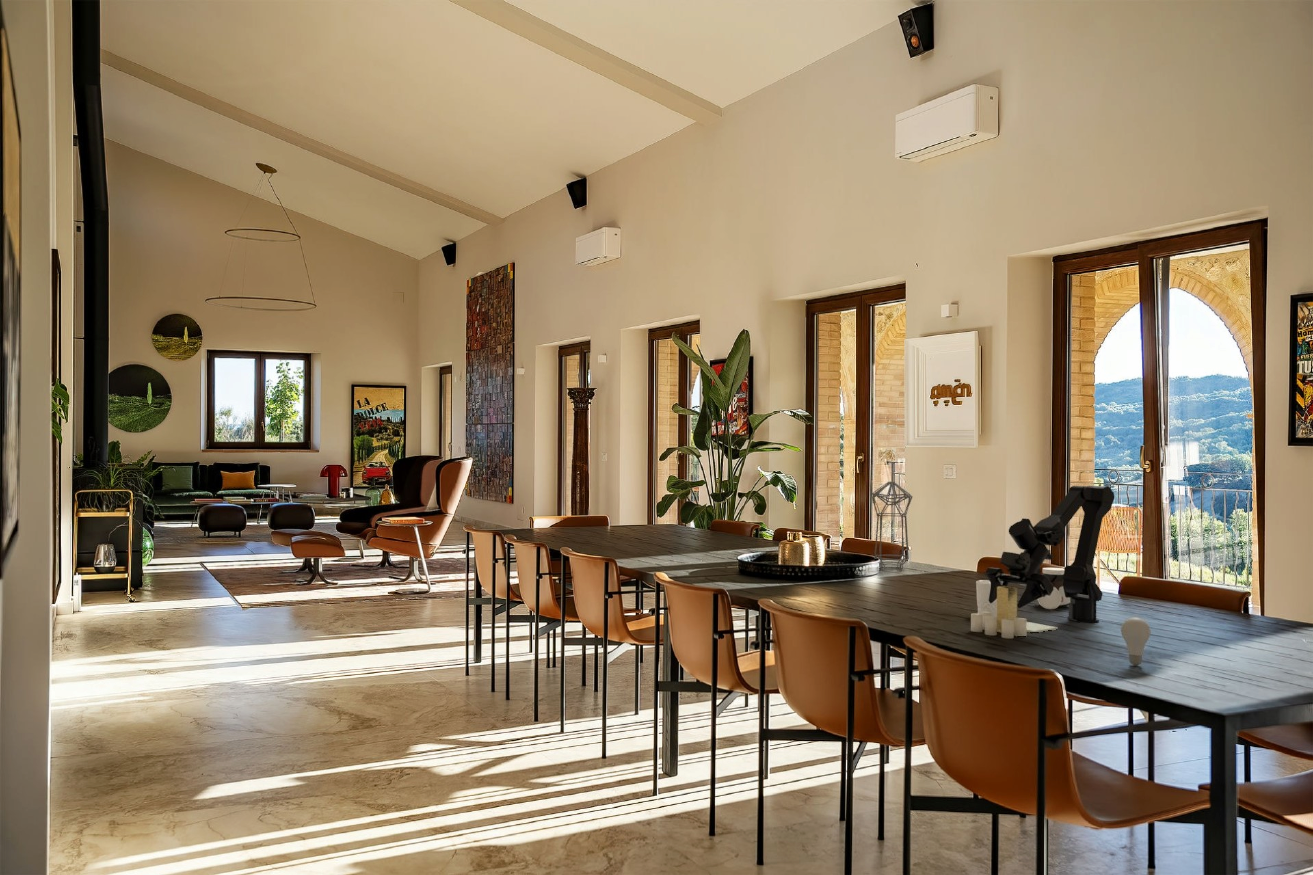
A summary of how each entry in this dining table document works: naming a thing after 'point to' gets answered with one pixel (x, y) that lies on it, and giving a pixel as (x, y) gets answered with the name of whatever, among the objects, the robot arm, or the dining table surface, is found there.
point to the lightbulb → (1135, 638)
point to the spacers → (990, 625)
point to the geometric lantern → (907, 495)
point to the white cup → (985, 598)
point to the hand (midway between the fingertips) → (1003, 604)
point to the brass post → (1006, 604)
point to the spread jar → (1054, 590)
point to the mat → (1039, 627)
